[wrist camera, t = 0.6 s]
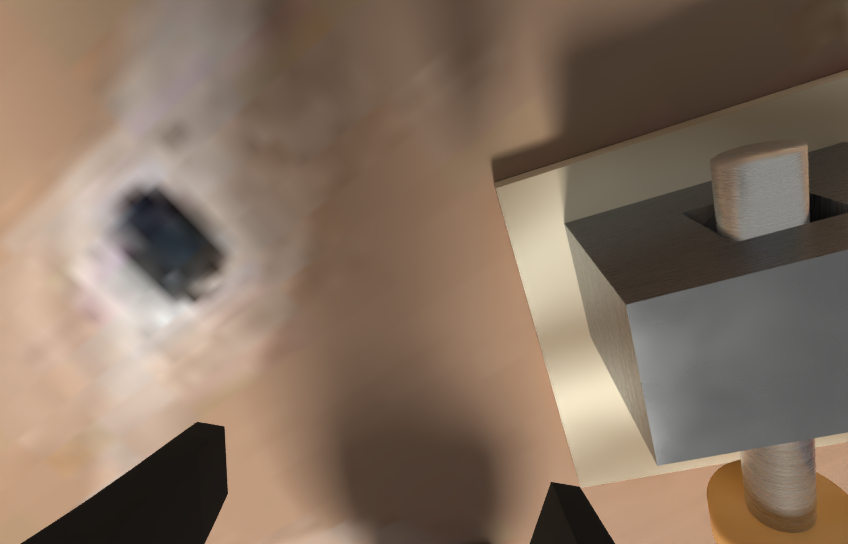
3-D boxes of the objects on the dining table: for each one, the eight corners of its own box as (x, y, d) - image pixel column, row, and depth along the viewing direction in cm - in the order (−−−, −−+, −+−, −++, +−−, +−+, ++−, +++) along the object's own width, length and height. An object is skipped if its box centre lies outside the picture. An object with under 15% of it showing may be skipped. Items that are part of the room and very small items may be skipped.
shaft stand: (876, 416, 19) (1111, 602, 12) (575, 470, 22) (629, 649, 15) (890, 56, 14) (1309, 23, 7) (493, 182, 16) (516, 250, 10)
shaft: (804, 477, 18) (906, 592, 14) (690, 496, 19) (753, 608, 15) (791, 119, 13) (943, 132, 9) (635, 166, 14) (708, 199, 10)
